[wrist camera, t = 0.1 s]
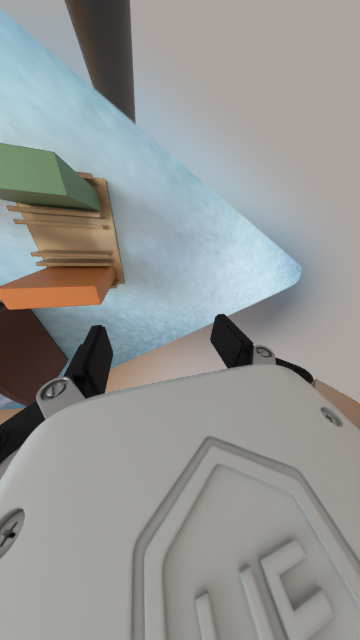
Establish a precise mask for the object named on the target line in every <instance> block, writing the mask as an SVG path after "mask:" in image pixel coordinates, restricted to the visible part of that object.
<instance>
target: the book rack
mask: <svg viewBox="0 0 360 640" xmlns="http://www.w3.org/2000/svg"><path fill="white" fill-rule="evenodd" d="M76 173H78V174H79V175H80V176H81V177H82V178H83V179H84V180H85V181H86V182H88V183H89V184H90V185H91V186H92V187H93V188H94V189H95V190H96V191H97V193H98V198H99V202H100V207H101V212H98V211H86V210H75V209H63V208H52V207H40V206H29V205H25V204H20V203H17V206H18V207H17V206H6V207H7V209H8V210H9V211H15V212H21V214H22V216H23V218H24V220H18V219H13V220H14V222H15V224H27V227H28V229H29V231H30V233H31V235H32V237H33V239H34V241H35V243H36V245H37V247H38V250H39V251H37V252H32V253H30V254H31V255H32V256H37V257H42V258H43V261H39V262H36V265H37V266H47V267H50V266H112V265H113V268H114V273H115V279H114V281H113V283H112V285H111V286H110V288H117V285H118V284H124V283H125V282H124V276H123V271H122V265H121V260H120V254H119V248H118V243H117V237H116V232H115V226H114V221H113V215H112V210H111V204H110V199H109V193H108V187H107V182H106V180H105V179H102V178H94V177H93V176H92V174H89V173H82V172H76Z"/></svg>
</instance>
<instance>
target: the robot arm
mask: <svg viewBox="0 0 360 640" xmlns="http://www.w3.org/2000/svg"><path fill="white" fill-rule="evenodd" d="M210 340H211V343H212V344H213V346H214V347H215V349H216V351H217V352H218V354H219V355H220V357H221V358H222V360H223V362H224V363H225V365H226V366H227V368H228V369H223V370H218V371H213V372H208V373H203V374H198V375H192V376H187V377H182V378H177V379H172V380H167V381H162V382H157V383H152V384H147V385H142V386H137V387H132V388H127V389H123V390H118V391H113V392H109V393H105V389H106V384H107V380H108V375H109V371H110V367H111V362H112V357H113V350H112V347H111V344H110V341H109V338H108V335H107V332H106V329H105V327H102V325H95V326H92V327H91V329H90V331H89V333H88V335H87V337H86V339H85V341H84V343H83V344H81V345H80V346H79V348H78V350H77V351H76V353H75V355H74V357H73V359H72V361H71V363H70V365H69V367H68V368H67V370H66V372H65V374H64V376H61V377H57V378H54V379H52V380H50V381H49V382H47V383H46V384H45V385H43V386H42V387H41V388H40V390H39V391H38V392H37V395H36V401H35V402H33V403H32V404H30V405H29V406H27V407H26V408H24V409H23V410H22V411H20V412H19V413H17V414H16V415H14V416H13V417H11V418H10V419H8V420H7V421H6V422H4V423H3V424H1V425H0V640H360V404H359V403H358V402H356V401H355V400H353V399H352V398H350V397H348V396H346V395H344V394H343V393H341V392H339V391H337V390H335V389H334V388H332V387H330V386H328V385H326V384H325V383H323V382H321V381H319V380H317V379H316V380H314V379H313V377H312V375H311V374H310V373H309V372H308V371H306V370H305V369H303V368H301V367H299V366H297V365H294V364H291V363H289V362H286V361H283V360H281V359H278V358H276V357H275V355H274V353H273V351H272V350H270V349H269V348H267V347H265V346H262V345H256V346H253V342H252V341H251V340H250V339H249V338H248V337H247V336H246V335H245V334H244V333H243V332H242V331H241V330H240V329H239V328H238V327H237V326H236V325H235V324H234V323H233V322H232V321H231V320H230V319H229V318H228V317H227V316H226V315H225V314H218V315H217V316H216V317H215V321H214V325H213V329H212V334H211V338H210Z"/></svg>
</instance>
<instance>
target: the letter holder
mask: <svg viewBox="0 0 360 640" xmlns="http://www.w3.org/2000/svg"><path fill="white" fill-rule="evenodd" d="M67 362H68V360H67V358H66V357H65V356H64V355H63V353H62V352H61V351H60V349H59V348H58V347H57V345H56V344H55V343H54V341H53V340H52V338H51V337H50V336H49V334H48V333H47V332H46V330H45V329H44V328H43V326H42V325H41V324H40V322H39V321H38V320H37V318H36V317H35V315H34V314H33V313H32V311H31V310H30V309H12V310H9V309H8V308H7V307H6V306H5V304H4V303H3V302H2V300H0V394H2V395H3V396H5V397H7V398H9V399H11V400H13V401H15V402H17V403H20V404H22V405H24V406H29V405H30V404H32V403H33V402H35V401H36V395H37V392H38V391H39V390H40V388H41V387H42V386H43V385H45V384H46V383H47V382H49V381H50V380H52V379H54V378H57V377H58V376H59V375H60V373H61V372H62V370H63V368H64V367H65V365H66V364H67Z"/></svg>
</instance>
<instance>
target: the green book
mask: <svg viewBox="0 0 360 640" xmlns="http://www.w3.org/2000/svg"><path fill="white" fill-rule="evenodd" d="M0 199H2V200H7V201H11V202H16V203H20V204H25V205H29V206H40V207H52V208H63V209H75V210H86V211H98V212H101V207H100V202H99V198H98V193H97V191H96V190H95V189H94V188H93V187H92V186H91V185H90V184H89V183H88V182H86V181H85V180H84V179H83V178H82V177H81V176H80V175H79V174H78V173H76V172H75V171H74V170H73V169H72V168H71V167H70V166H69V165H68V164H66V163H65V162H64V161H63V160H62V159H61V158H60V157H59V156H58V155H56V154H55V153H54V152H50V151H44V150H38V149H32V148H27V147H21V146H15V145H9V144H3V143H0Z"/></svg>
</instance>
